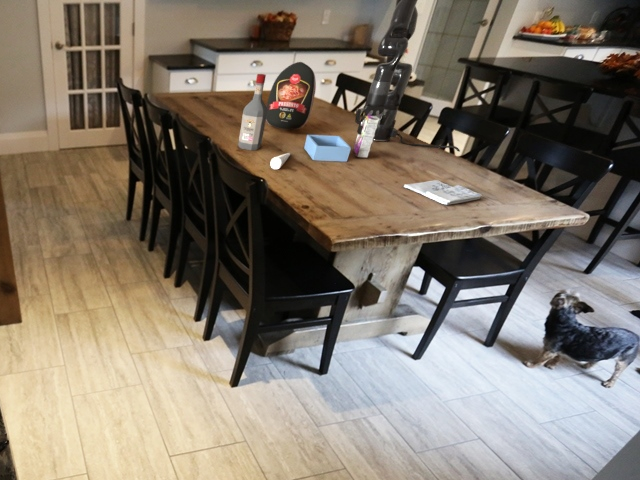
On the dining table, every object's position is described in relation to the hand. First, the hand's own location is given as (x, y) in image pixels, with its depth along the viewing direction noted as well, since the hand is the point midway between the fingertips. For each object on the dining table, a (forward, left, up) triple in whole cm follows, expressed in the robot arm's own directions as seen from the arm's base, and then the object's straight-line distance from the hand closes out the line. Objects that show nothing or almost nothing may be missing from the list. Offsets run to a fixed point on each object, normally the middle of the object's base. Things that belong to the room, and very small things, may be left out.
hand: (365, 134), depth 217 cm
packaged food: (+26, -40, -9) cm, 48 cm away
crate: (+16, +2, -9) cm, 18 cm away
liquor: (+49, -5, -9) cm, 50 cm away
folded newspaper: (-17, +44, -9) cm, 48 cm away
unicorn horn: (+38, +15, -9) cm, 42 cm away
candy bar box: (0, 0, -9) cm, 9 cm away
